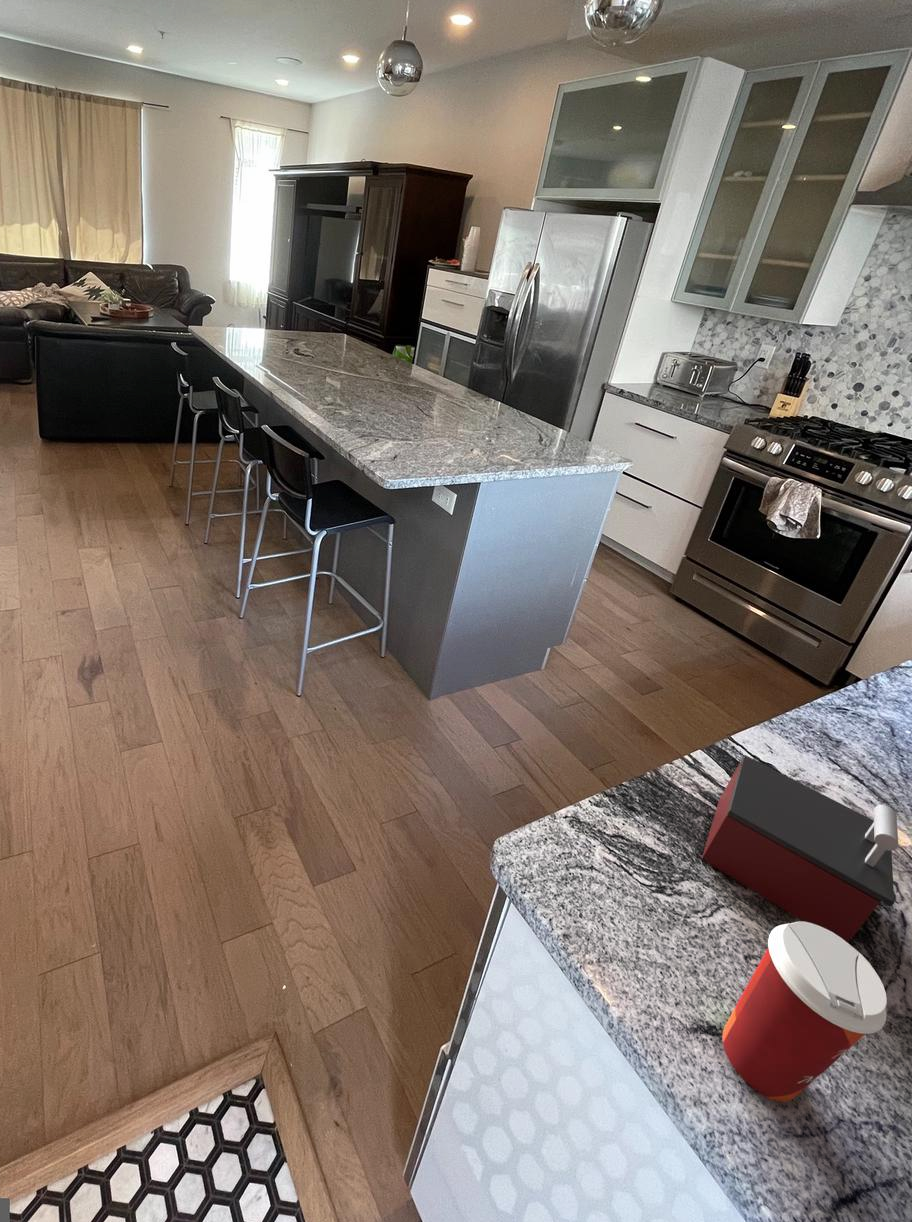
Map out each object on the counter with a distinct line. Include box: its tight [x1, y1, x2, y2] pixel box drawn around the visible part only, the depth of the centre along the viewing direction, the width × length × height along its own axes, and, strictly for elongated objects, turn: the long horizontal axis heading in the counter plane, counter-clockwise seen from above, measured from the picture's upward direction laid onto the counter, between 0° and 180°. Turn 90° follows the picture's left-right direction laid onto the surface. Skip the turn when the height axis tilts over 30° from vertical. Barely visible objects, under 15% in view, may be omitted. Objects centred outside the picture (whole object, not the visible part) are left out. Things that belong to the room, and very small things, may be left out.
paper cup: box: [721, 921, 888, 1103], centre depth 51 cm, size 8×8×14 cm
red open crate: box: [701, 759, 881, 944], centre depth 70 cm, size 14×12×8 cm
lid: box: [727, 754, 899, 907], centre depth 67 cm, size 14×12×5 cm
